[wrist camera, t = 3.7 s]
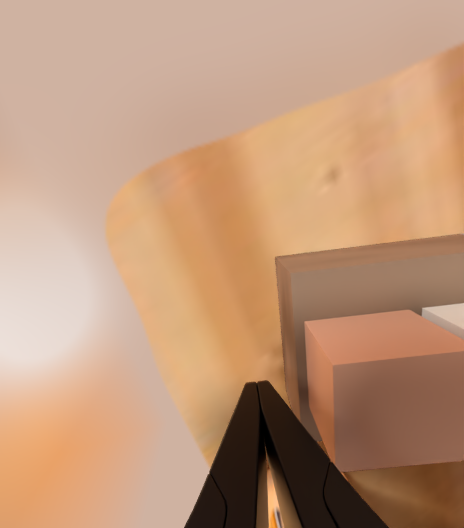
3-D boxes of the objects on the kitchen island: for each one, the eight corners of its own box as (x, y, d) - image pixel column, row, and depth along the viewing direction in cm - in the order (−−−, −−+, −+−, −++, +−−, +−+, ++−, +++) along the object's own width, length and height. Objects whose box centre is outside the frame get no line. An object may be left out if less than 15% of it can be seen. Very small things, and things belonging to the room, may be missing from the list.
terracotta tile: (403, 396, 9) (463, 460, 7) (309, 406, 10) (335, 472, 7) (408, 309, 8) (480, 349, 6) (304, 321, 9) (332, 364, 6)
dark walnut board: (443, 373, 13) (507, 422, 10) (286, 390, 13) (302, 443, 10) (459, 234, 11) (543, 242, 8) (274, 256, 11) (290, 273, 8)
